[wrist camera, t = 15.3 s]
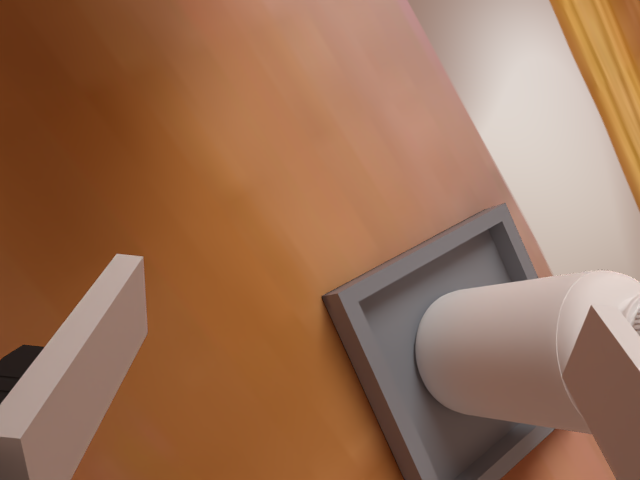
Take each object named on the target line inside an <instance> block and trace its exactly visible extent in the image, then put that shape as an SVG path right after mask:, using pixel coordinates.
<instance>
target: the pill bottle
mask: <svg viewBox="0 0 640 480" xmlns="http://www.w3.org/2000/svg"><path fill="white" fill-rule="evenodd" d="M591 305H599V306H608V307H617V308H618V309H619V311H620V312H621V313H622V314H623V316H624V317H625V318H626V319H627V321H628V322H629V323H630V324H631V326H632V327H633V328H634V330H635V331H636V332H637V333H638V335H639V336H640V282H639V281H637V280H635V279H634V278H632V277H630V276H627V275H625V274H621V273H618V272H613V271H607V270H594V271H586V272H579V273H572V274H565V275H558V276H551V277H544V278H537V279H531V280H524V281H517V282H510V283H503V284H496V285H489V286H482V287H476V288H469V289H462V290H457V291H454V292H450V293H447V294H445V295H443V296H441V297H440V298H438V299H437V300H436V301H434V302H433V303H432V304H431V305H430V306H429V308H428V309H427V310H426V312H425V313H424V315H423V317H422V319H421V321H420V324H419V327H418V330H417V335H416V343H415V353H416V361H417V366H418V370H419V373H420V376H421V378H422V380H423V382H424V384H425V386H426V388H427V389H428V391H429V392H430V393H431V395H432V396H433V397H434V398H435V399H436V400H437V401H438V402H439V403H441V404H442V405H443V406H445V407H447V408H449V409H451V410H453V411H456V412H459V413H462V414H466V415H472V416H478V417H485V418H491V419H498V420H504V421H511V422H517V423H523V424H530V425H536V426H543V427H549V428H555V429H562V430H568V431H575V432H581V433H588V434H592V433H591V431H590V429H589V427H588V425H587V423H586V421H585V419H584V417H583V416H582V414H581V412H580V410H579V408H578V406H577V404H576V402H575V401H574V399H573V397H572V395H571V393H570V391H569V389H568V387H567V386H566V384H565V382H564V380H563V378H562V374H563V372H564V369H565V367H566V365H567V362H568V360H569V357H570V355H571V352H572V350H573V348H574V345H575V343H576V340H577V338H578V335H579V333H580V331H581V328H582V326H583V323H584V321H585V318H586V316H587V314H588V311H589V309H590V306H591Z"/></svg>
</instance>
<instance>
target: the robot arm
mask: <svg viewBox="0 0 640 480" xmlns="http://www.w3.org/2000/svg"><path fill="white" fill-rule="evenodd" d="M147 333H148V328H147V311H146V294H145V277H144V260H143V256H134V255H124V254H116V255H115V257H114V258H113V259H112V261H111V262H110V263H109V264H108V266H107V267H106V268H105V270H104V271H103V272H102V274H101V275H100V276H99V277H98V279H97V280H96V281H95V283H94V284H93V285H92V286H91V288H90V289H89V290H88V292H87V293H86V294H85V296H84V297H83V298H82V299H81V301H80V302H79V303H78V305H77V306H76V307H75V308H74V310H73V311H72V312H71V314H70V315H69V316H68V318H67V319H66V320H65V321H64V323H63V324H62V325H61V327H60V328H59V329H58V330H57V332H56V333H55V334H54V336H53V337H52V338H51V339H50V341H49V342H48V343H47V345H46V346H45V347H40V346H30V345H22V346H21V347H19V348H17V349H16V350H14V351H13V352H11V353H10V354H8V355H6V356H5V357H3V358H2V359H1V360H0V480H71V478H72V477H73V475H74V473H75V471H76V469H77V467H78V465H79V463H80V461H81V459H82V457H83V456H84V454H85V452H86V450H87V448H88V446H89V444H90V442H91V440H92V438H93V436H94V435H95V433H96V431H97V429H98V427H99V425H100V423H101V421H102V419H103V417H104V415H105V414H106V412H107V410H108V408H109V406H110V404H111V402H112V400H113V398H114V396H115V394H116V393H117V391H118V389H119V387H120V385H121V383H122V381H123V379H124V377H125V375H126V373H127V372H128V370H129V368H130V366H131V364H132V362H133V360H134V358H135V356H136V354H137V352H138V351H139V349H140V347H141V345H142V343H143V341H144V339H145V337H146V335H147ZM562 378H563V380H564V382H565V384H566V386H567V387H568V389H569V391H570V393H571V395H572V397H573V399H574V401H575V402H576V404H577V406H578V408H579V410H580V412H581V414H582V416H583V417H584V419H585V421H586V423H587V425H588V427H589V429H590V431H591V433H592V434H593V436H594V438H595V440H596V442H597V444H598V446H599V448H600V449H601V451H602V453H603V455H604V457H605V459H606V461H607V463H608V465H609V466H610V468H611V470H612V472H613V474H614V476H615V478H616V480H640V336H639V335H638V333H637V332H636V331H635V330H634V328H633V327H632V326H631V324H630V323H629V322H628V321H627V319H626V318H625V317H624V316H623V314H622V313H621V312H620V311H619V309H618V308H617V307H608V306H599V305H591V306H590V309H589V311H588V314H587V316H586V318H585V321H584V323H583V326H582V328H581V331H580V333H579V335H578V338H577V340H576V343H575V345H574V348H573V350H572V352H571V355H570V357H569V360H568V362H567V365H566V367H565V369H564V372H563V374H562Z"/></svg>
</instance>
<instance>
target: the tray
mask: <svg viewBox="0 0 640 480" xmlns="http://www.w3.org/2000/svg"><path fill="white" fill-rule="evenodd" d="M537 278H538V276H537V274H536V271H535V269H534V267H533V265H532V262H531V260H530V258H529V255H528V253H527V251H526V249H525V246H524V244H523V242H522V240H521V237H520V235H519V233H518V231H517V228H516V226H515V224H514V221H513V219H512V217H511V215H510V212H509V210H508V208H507V206H506V203H504V204H501V205H497V206H494V207H491V208H488V209H485V210H482V211H481V212H479V213H477V214H475V215H473V216H471V217H469V218H467V219H466V220H464V221H462V222H460V223H458V224H456V225H454V226H452V227H451V228H449V229H447V230H445V231H443V232H441V233H439V234H437V235H436V236H434V237H432V238H430V239H428V240H426V241H424V242H422V243H421V244H419V245H417V246H415V247H413V248H411V249H409V250H407V251H406V252H404V253H402V254H400V255H398V256H396V257H394V258H392V259H390V260H389V261H387V262H385V263H383V264H381V265H379V266H377V267H375V268H374V269H372V270H370V271H368V272H366V273H364V274H362V275H360V276H359V277H357V278H355V279H353V280H351V281H349V282H347V283H345V284H344V285H342V286H340V287H338V288H336V289H334V290H332V291H330V292H329V293H327V294H325V295H323V296H322V299H323V301H324V303H325V305H326V307H327V310H328V312H329V314H330V316H331V319H332V321H333V323H334V325H335V327H336V330H337V332H338V334H339V336H340V338H341V341H342V343H343V345H344V347H345V349H346V352H347V354H348V356H349V358H350V360H351V363H352V365H353V367H354V369H355V371H356V374H357V376H358V378H359V380H360V383H361V385H362V387H363V389H364V391H365V394H366V396H367V398H368V400H369V402H370V405H371V407H372V409H373V411H374V413H375V416H376V418H377V420H378V422H379V424H380V427H381V429H382V431H383V433H384V435H385V438H386V440H387V442H388V444H389V447H390V449H391V451H392V453H393V455H394V458H395V460H396V462H397V464H398V466H399V469H400V471H401V473H402V475H403V477H404V480H500V479H501V478H502V477H503V476H504V475H505V474H506V473H507V472H509V471H510V470H511V469H512V468H513V467H514V466H515V465H516V464H517V463H518V462H519V461H521V460H522V459H523V458H524V457H525V456H526V455H527V454H528V453H529V452H530V451H531V450H533V449H534V448H535V447H536V446H537V445H538V444H539V443H540V442H541V441H542V440H543V439H545V438H546V437H547V436H548V435H549V434H550V433H551V432H552V431H553V430H554V429H555V428H549V427H543V426H536V425H530V424H523V423H517V422H511V421H504V420H498V419H491V418H485V417H478V416H472V415H466V414H462V413H459V412H456V411H453V410H451V409H449V408H447V407H445V406H443V405H442V404H441V403H439V402H438V401H437V400H436V399H435V398H434V397H433V396H432V395H431V393H430V392H429V391H428V389H427V388H426V386H425V384H424V382H423V380H422V378H421V376H420V373H419V370H418V366H417V361H416V353H415V343H416V335H417V330H418V327H419V324H420V321H421V319H422V317H423V315H424V313H425V312H426V310H427V309H428V308H429V306H430V305H431V304H432V303H433V302H434V301H436V300H437V299H438V298H440V297H441V296H443V295H445V294H447V293H450V292H454V291H457V290H462V289H469V288H476V287H482V286H489V285H496V284H503V283H510V282H517V281H524V280H531V279H537Z"/></svg>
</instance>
